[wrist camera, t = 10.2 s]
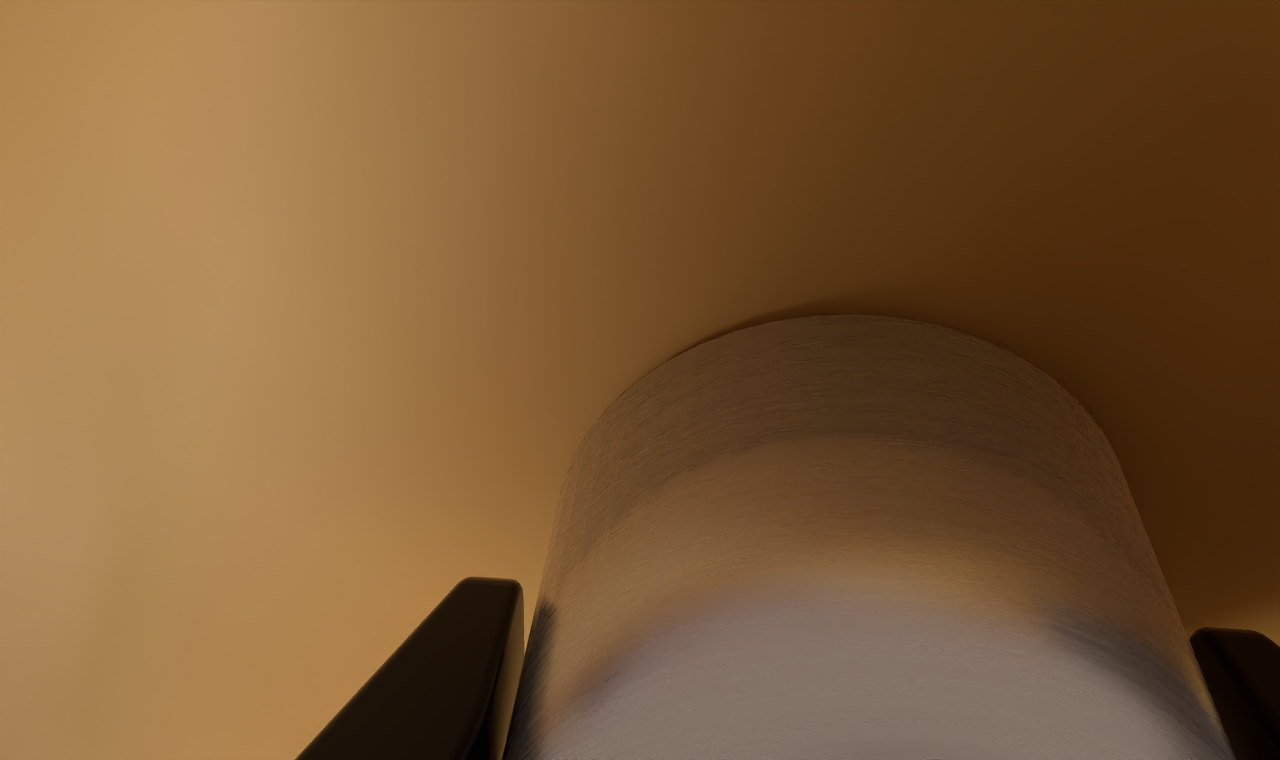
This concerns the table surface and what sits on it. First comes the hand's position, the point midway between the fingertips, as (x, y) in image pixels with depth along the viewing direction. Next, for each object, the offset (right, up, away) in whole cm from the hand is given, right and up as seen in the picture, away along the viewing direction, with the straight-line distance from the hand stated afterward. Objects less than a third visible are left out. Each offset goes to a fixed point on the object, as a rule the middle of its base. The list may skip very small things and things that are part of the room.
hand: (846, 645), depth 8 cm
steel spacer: (0, +1, +1) cm, 1 cm away
